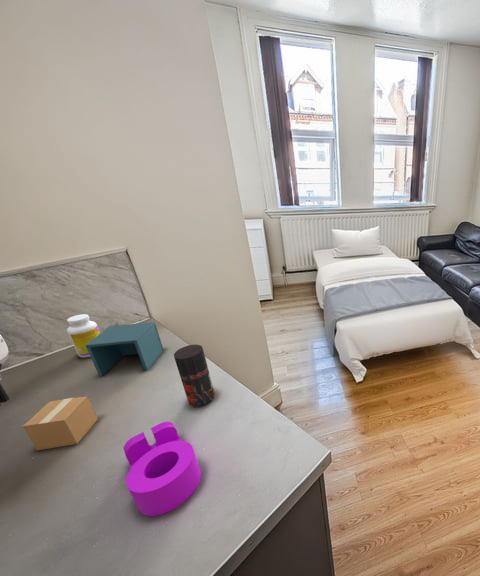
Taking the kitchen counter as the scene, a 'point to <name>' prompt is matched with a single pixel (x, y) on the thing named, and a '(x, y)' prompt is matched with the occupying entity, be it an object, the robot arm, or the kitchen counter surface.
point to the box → (61, 423)
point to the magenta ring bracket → (161, 470)
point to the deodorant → (194, 375)
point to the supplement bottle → (82, 333)
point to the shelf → (125, 345)
